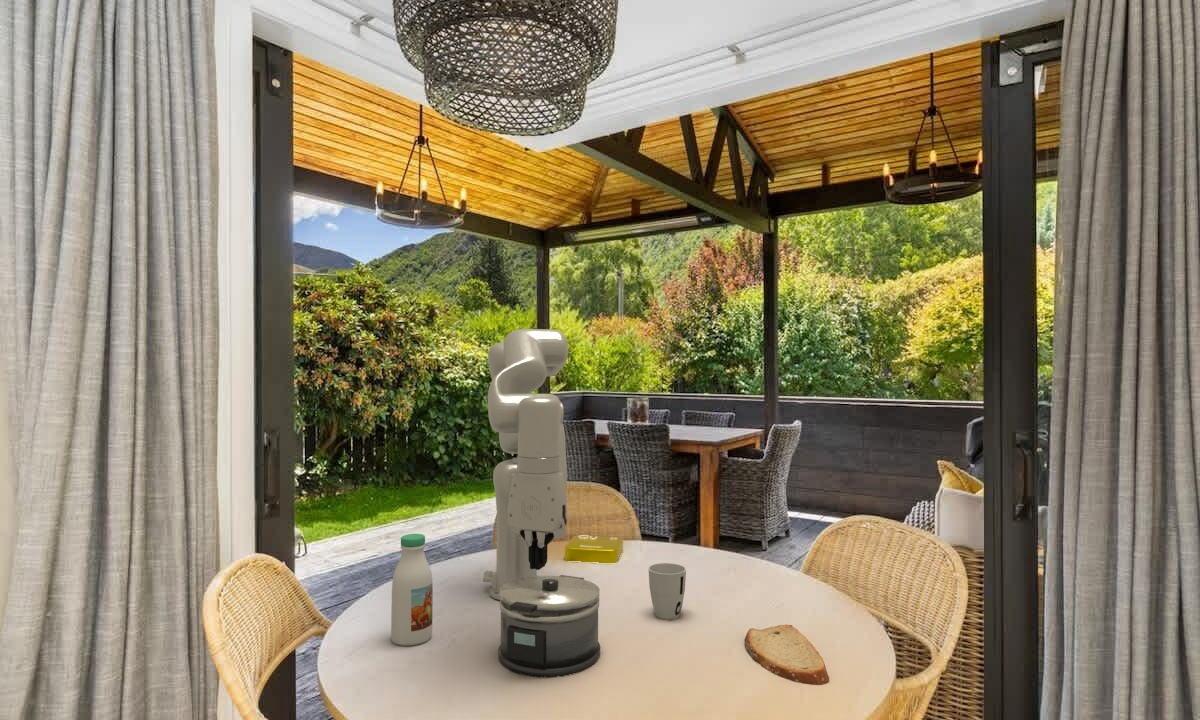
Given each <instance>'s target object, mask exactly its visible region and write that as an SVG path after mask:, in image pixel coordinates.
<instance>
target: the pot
mask: <svg viewBox="0 0 1200 720" xmlns="http://www.w3.org/2000/svg"><path fill="white" fill-rule="evenodd" d="M599 609H600V598H599V599H598V600H597V601H596V602H595V603H593V604H591V605H588V606H585V607H581V608H577V609H570V610H560V611H539V610H535V611H534V612H532V613H529V612H523V611H516V610H511V605H509V604H506V603H505V602H503V601H502V600H501V599H500V600H499V610H500V644H499V646H498V650H497V651H498V653H497V656H498V661H499V663H500V664H501V666H502V667H503V668H504V669H506V670H508V671H511V672H513V673H515V674H518V675H521V676H525V677H531V678H558V677H557V676H560V677H566V676H565V675H567V676H570V674H571V675H575V674H578V673H581V672H583V671H585V669H586V670H588V669H590V668H591V667H593V666H594V665H595V664H596V663H597V662H598V661H599V660H600V658H601V644H600V641H599ZM598 659H599V660H598ZM592 665H593V666H592ZM589 667H590V668H589ZM587 668H588V669H587ZM574 673H575V674H574Z"/></svg>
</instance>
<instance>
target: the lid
mask: <svg viewBox="0 0 1200 720" xmlns="http://www.w3.org/2000/svg"><path fill="white" fill-rule="evenodd" d="M500 599H501V600H502V601H503V602H505V603H506V604H509V605H511V610H516V611H523V612H529V613H532V612H534V611H535V610H539V611H560V610H570V609H577V608H581V607H585V606H588V605H591V604H593V603H595V602H596V601H597V600H598V599H599V600H600V587H599V586H598V585H597V584H595V583H594V582H592V581H589V580H586V579H585V578H584V577H580V576H579V577H578V576H572V575H562V574H561V575H538V576H535V577H526V578H521V579H516V580H513V581H510V582H507V583H505V584H504V585H502V586H501V588H500Z"/></svg>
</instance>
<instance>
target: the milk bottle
mask: <svg viewBox="0 0 1200 720" xmlns="http://www.w3.org/2000/svg"><path fill="white" fill-rule="evenodd" d="M425 543H426V536H425V535H424V534H422V533H409V534H404V535H402V536H401V537H400V549H401V555H400V557H399V561H398V563H397V565H396V568H395V570H394V572H393V576H392V583H391V613H390V614H391V616H390V619H391V620H390V627H391V629H390V632H391V633H390V635H391V638H390V639H391V642H392V643H393V644H395V645H398V646H402V647H404V646H408V647H409V646H416V645H417V646H418V645H421V644H423V643H427V641H429V640H430V639H431V638H432V636H433V604H434V603H433V599H434V598H433V594H434V593H433V590H434V589H433V588H434V587H433V574H432V570H431V567H430V565H429V563H428V562H429V561H428V560H427V558H426V553H425V549H424V548H425V546H426V545H425Z"/></svg>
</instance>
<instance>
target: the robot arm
mask: <svg viewBox="0 0 1200 720" xmlns="http://www.w3.org/2000/svg"><path fill="white" fill-rule="evenodd" d="M568 355H569V346H568V341H567V338H566V336H565V335H564V334H563V332H561V331H560V330H557V329H552V328H551V329H544V328H519V329H515V330H513V331H511V332H510V333H508V334H506V336H505V339H504V341H500V342H497V343H494V344H492V345H491V346H490V348H489V349H488V354H487V363H488V370H489V375H490V379H491V382H490V384H489V387H488V391H487V411H488V412H487V413H488V420H489V424H490V426H491V428H492V429H493V431H495V432H496V433H498V439H499V445H500V449H501V451H503V452H504V453H506V454H513V455H514V454H517V455H516V457H512V459H507V460H503V461H501V462H499V463H497V465H495V467H494V469H493V475H492V478H493V479H492V480H493V488H494V494H495V506H496V507H495V508H496V559H495V561H496V564H495V565H496V567H495V568H496V570H495V571H496V572H495V571H492V570H491V571H490V570H485V571H484V573H483V576H482V582H487V583H491V586H490V588H489V596H490V597H491V598H492V599H494V600H497V601H500V588H501V586H502V585H504V584H505V583H507V582H510V581H513V580H516V579H521V578H526V577H535V576H537V574H538V573H537V571H539V570H541V569H543V568H544V567H546V565H547V563H548V545H549V544H550V543H551V542H552V541H553V540H554V539H561V538H564V537H566V536H567V530H566V525H567V524H568V523H567V522H568V502H567V501H568V500H567V499H568V498H567V485H568V484H567V482H568V481H567V480H568V478H567V477H568V476H567V473H568V472H567V471H568V470H567V451H566V433H565V427H564V424H563V422H564V413H565V412H564V404H563V402H561V400H560V398H559V397H558V396H557V395H555V394H551V393H532V392H533V391H536V390H537V389H539V388H541V387H542V386H543V384H544V383H545V382H546V379H547V377H553V376H556V375H558V374H559V372H560V371H561V370H562V369H563V367H564V366H565V365H566V363H567V359H568Z"/></svg>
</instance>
